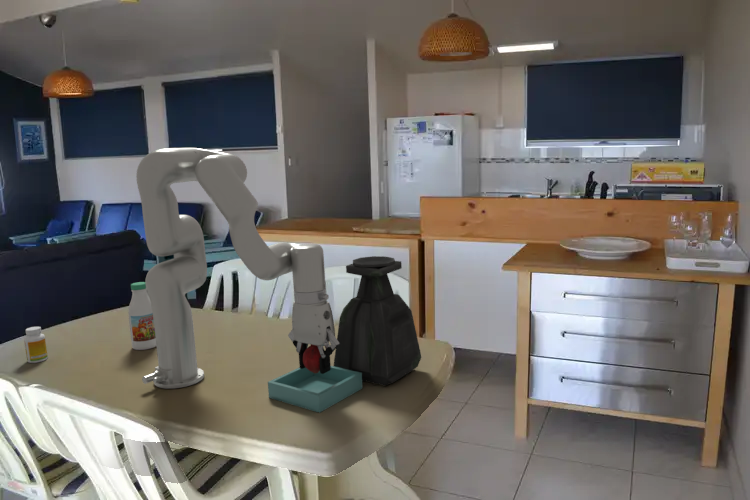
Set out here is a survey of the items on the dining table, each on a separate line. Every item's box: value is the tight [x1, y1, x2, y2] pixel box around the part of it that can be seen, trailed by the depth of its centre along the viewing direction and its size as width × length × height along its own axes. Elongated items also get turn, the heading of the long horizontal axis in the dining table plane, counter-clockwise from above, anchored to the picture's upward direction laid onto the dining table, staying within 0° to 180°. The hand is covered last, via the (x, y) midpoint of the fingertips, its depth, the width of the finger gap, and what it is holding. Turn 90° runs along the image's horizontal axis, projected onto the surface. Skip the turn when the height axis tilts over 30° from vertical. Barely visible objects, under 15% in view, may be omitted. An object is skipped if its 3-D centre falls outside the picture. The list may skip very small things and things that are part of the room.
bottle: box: [333, 255, 422, 387], centre depth 158 cm, size 18×16×30 cm
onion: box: [303, 344, 321, 373], centre depth 148 cm, size 6×6×8 cm
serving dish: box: [267, 365, 363, 413], centre depth 149 cm, size 16×16×4 cm
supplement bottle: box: [23, 326, 49, 364], centre depth 181 cm, size 5×5×10 cm
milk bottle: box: [128, 281, 157, 351], centre depth 189 cm, size 8×8×20 cm
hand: (315, 368), depth 148 cm, fingers closed on onion, 5 cm apart
